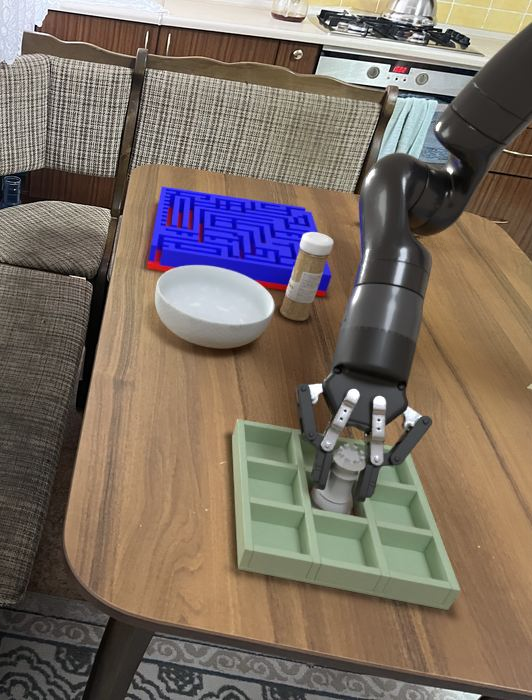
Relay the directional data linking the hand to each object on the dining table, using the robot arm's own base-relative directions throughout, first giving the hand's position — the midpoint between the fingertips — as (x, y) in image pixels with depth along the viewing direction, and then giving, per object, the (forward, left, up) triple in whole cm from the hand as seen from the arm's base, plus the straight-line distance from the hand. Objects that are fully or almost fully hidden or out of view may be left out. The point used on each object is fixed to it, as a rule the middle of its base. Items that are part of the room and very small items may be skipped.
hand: (339, 494), depth 69 cm
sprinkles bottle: (-1, -45, -5) cm, 45 cm away
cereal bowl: (+13, -35, -5) cm, 37 cm away
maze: (+8, -68, -5) cm, 68 cm away
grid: (0, -2, -5) cm, 5 cm away
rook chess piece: (0, -2, -4) cm, 5 cm away
